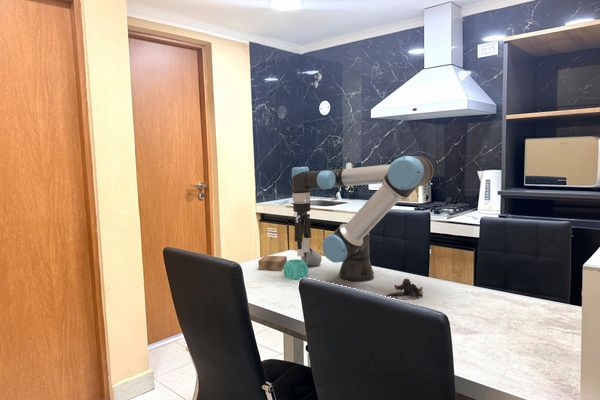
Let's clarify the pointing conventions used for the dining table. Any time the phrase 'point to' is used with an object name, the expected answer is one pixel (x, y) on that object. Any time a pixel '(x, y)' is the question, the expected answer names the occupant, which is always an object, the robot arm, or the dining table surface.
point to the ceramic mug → (312, 258)
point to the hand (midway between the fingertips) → (303, 254)
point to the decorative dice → (295, 269)
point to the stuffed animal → (406, 291)
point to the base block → (272, 263)
